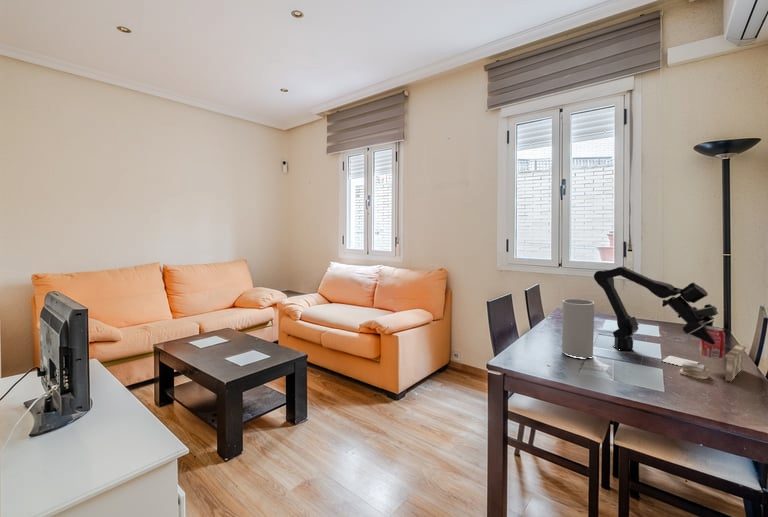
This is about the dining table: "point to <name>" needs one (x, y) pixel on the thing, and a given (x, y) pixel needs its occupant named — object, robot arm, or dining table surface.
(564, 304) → the cylinder vase
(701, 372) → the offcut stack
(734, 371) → the rack board
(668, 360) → the white mat
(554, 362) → the dining table surface
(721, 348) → the soda can
